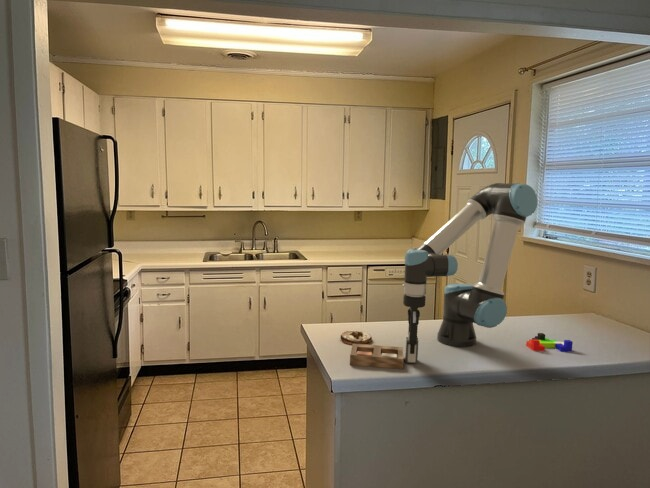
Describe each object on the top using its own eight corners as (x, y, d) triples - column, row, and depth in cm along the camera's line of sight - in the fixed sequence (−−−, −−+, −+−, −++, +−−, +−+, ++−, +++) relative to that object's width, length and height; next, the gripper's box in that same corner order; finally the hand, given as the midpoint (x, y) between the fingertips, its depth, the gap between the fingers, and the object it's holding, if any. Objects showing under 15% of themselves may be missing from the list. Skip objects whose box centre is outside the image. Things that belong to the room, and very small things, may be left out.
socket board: (402, 356, 176) (402, 345, 176) (402, 368, 164) (403, 357, 164) (352, 352, 178) (353, 342, 178) (349, 364, 167) (350, 353, 166)
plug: (416, 359, 173) (418, 332, 172) (417, 363, 169) (418, 335, 168) (405, 358, 174) (406, 331, 173) (405, 362, 170) (406, 335, 169)
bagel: (341, 333, 202) (342, 323, 202) (377, 337, 198) (378, 327, 198) (332, 344, 188) (333, 334, 188) (370, 349, 184) (371, 338, 184)
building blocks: (555, 341, 200) (556, 331, 199) (571, 352, 187) (572, 341, 186) (519, 341, 199) (519, 330, 199) (533, 351, 186) (534, 341, 186)
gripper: (403, 288, 178) (400, 350, 180) (404, 299, 161) (400, 367, 164) (424, 289, 177) (420, 351, 179) (427, 301, 160) (423, 369, 163)
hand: (411, 359), depth 172 cm, fingers closed on plug, 4 cm apart
